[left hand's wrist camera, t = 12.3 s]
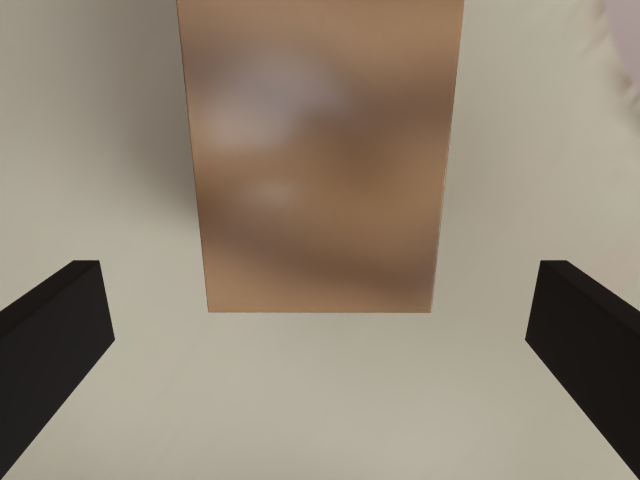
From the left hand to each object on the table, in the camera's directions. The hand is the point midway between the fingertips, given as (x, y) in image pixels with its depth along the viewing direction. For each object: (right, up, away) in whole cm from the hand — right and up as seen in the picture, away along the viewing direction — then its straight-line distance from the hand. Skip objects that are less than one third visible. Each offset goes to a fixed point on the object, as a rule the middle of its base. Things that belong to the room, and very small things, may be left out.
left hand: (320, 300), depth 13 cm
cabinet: (0, +11, +13) cm, 17 cm away
